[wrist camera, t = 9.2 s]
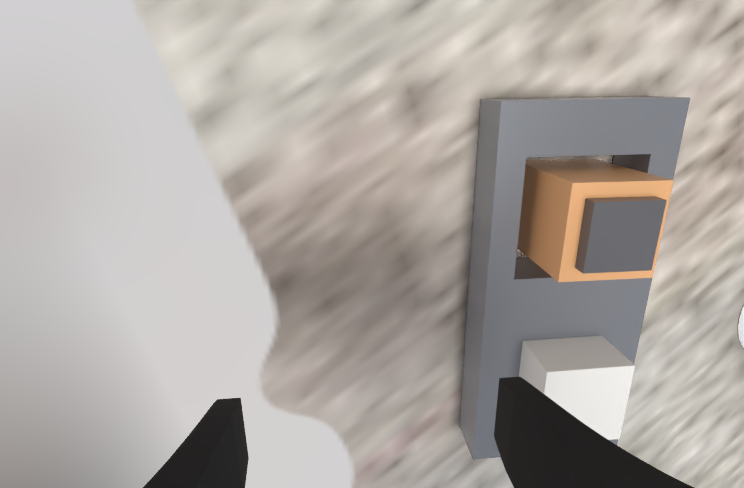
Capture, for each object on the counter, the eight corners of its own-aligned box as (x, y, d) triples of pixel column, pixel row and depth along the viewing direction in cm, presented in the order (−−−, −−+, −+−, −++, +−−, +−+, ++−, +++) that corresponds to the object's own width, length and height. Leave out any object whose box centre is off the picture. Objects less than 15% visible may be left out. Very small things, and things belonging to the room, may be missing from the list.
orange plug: (585, 238, 23) (662, 283, 18) (509, 241, 23) (565, 288, 17) (598, 159, 22) (685, 183, 17) (517, 161, 21) (581, 186, 16)
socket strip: (584, 447, 28) (638, 521, 23) (457, 459, 27) (485, 538, 22) (649, 96, 21) (743, 99, 16) (480, 98, 20) (528, 103, 16)
